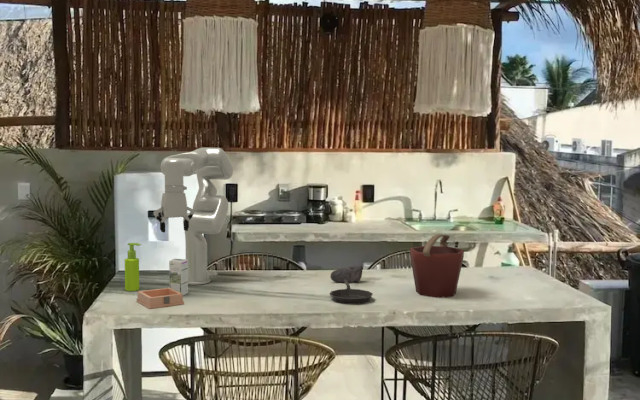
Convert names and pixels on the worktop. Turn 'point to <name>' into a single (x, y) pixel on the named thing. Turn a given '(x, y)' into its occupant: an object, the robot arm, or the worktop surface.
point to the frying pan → (350, 295)
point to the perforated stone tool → (347, 274)
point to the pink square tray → (160, 298)
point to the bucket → (436, 268)
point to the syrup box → (178, 275)
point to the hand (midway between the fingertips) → (174, 231)
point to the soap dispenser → (132, 269)
